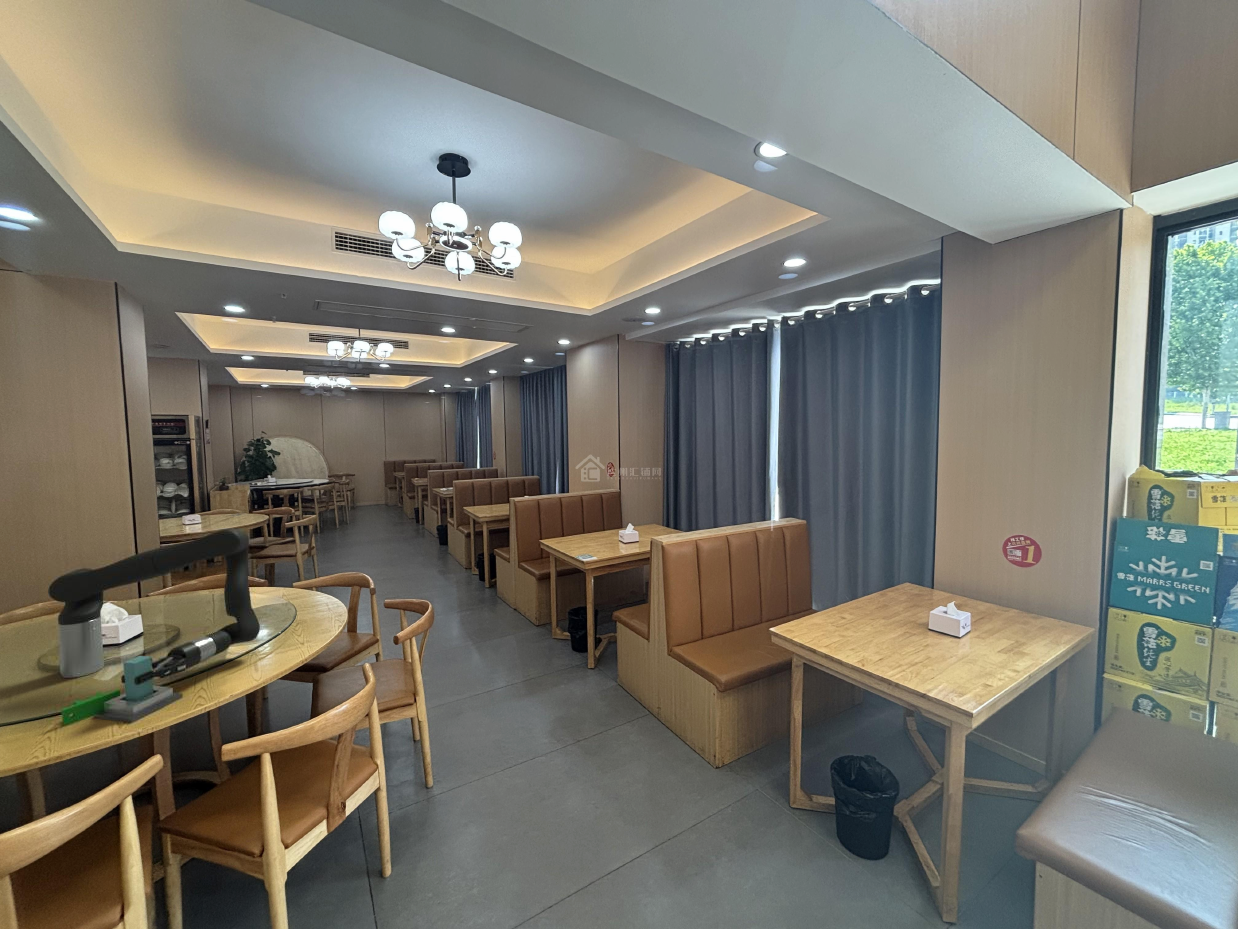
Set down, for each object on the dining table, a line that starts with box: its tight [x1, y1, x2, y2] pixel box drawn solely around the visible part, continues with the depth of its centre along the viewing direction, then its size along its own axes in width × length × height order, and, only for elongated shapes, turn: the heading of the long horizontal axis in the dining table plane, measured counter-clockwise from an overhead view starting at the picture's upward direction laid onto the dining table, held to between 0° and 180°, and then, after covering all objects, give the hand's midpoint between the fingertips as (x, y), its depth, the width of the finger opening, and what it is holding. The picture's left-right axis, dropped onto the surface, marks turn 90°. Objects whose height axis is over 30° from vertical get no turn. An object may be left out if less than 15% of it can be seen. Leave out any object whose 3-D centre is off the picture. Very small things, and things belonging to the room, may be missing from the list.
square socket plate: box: [92, 685, 184, 724], centre depth 139 cm, size 13×13×4 cm
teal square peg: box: [123, 655, 154, 702], centre depth 138 cm, size 4×4×12 cm
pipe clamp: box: [61, 689, 121, 727], centre depth 135 cm, size 11×4×5 cm, turn 156°
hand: (129, 680), depth 136 cm, fingers closed on teal square peg, 4 cm apart
